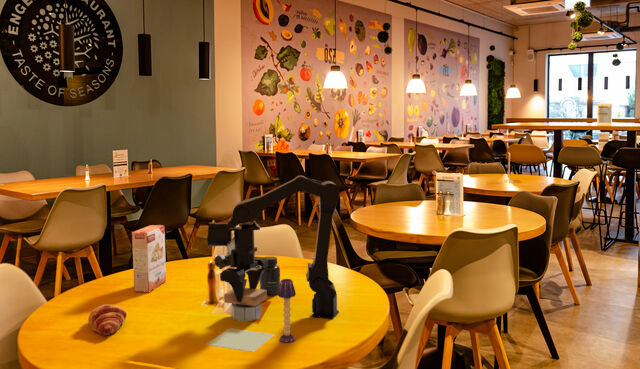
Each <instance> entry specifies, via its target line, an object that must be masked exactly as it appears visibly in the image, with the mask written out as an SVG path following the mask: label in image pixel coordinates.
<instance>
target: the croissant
mask: <svg viewBox="0 0 640 369" xmlns="http://www.w3.org/2000/svg"><path fill="white" fill-rule="evenodd" d="M127 315H128V314H127V312H126V310H124V308H122V307H121V306H119V305H114V304H104V303H103V304H100V305H97V306H96V307H95V308H94V309H93V310H91V311H90V313H89V315H88V325H89V326H90V328H91V330H92V329H93V330H94V332H96V333H98V334H100V335H102V336H108V335H110V333H111V334H113V333H114V332H115V333H116V332H118V331H117V330H119V329H121V328H122V326H123V325H124V324H123V323H125V320H126V318H127ZM120 327H121V328H120ZM93 330H92V331H93Z"/></svg>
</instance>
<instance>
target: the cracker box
mask: <svg viewBox="0 0 640 369" xmlns="http://www.w3.org/2000/svg"><path fill="white" fill-rule="evenodd" d="M165 230H166V229H165V225H162V224H156V225H155V224H152V225H151V224H150V225H148V226H145V227H143V228H140V229H136V230H135V231H132V232H131V240H132V244H131V245H132V268H133V270H132V271H133V290H134V291H145V292H144V293H150V292H152V291H153V290H155V289H156V287H157V286H158V287H160V286H161V285H163V284H164V283H166V282H167V270H166V268H167V267H166V266H167V265H166V263H167V262H166V237H165V236H166V233H165ZM165 281H166V282H165ZM162 283H163V284H162ZM160 284H161V285H160ZM159 285H160V286H159ZM158 287H157V288H158ZM154 288H155V289H154ZM152 289H153V290H152ZM151 290H152V291H151ZM149 291H150V292H149Z"/></svg>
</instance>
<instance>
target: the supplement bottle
mask: <svg viewBox="0 0 640 369" xmlns="http://www.w3.org/2000/svg"><path fill="white" fill-rule="evenodd" d="M264 257H265V258H266V259H267V260H268V267H266V268H262V266H261V268H262V269H265V271H264V273H263V275H262V277H261V279H260V281H259V289H263V290H267V297H268V296H269V297H271V296H276V295H277V296H278V290H279V286H280V282H281V267H280V266H279V265H278V257H276V256H264Z"/></svg>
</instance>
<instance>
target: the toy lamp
mask: <svg viewBox="0 0 640 369" xmlns="http://www.w3.org/2000/svg"><path fill="white" fill-rule="evenodd" d="M296 294H297V293H296V290H295V285H294V281H293V279H290V278H283V279H280V286H279V290H278V294H277V297H279V298H280V299H281V298H282V299H283V306H284V307H283V317H284V318H283V323H284V324H283V334H282V335H281V336H280V337H279V339H278V340H279V342H280V343H282V344H291V343H294V342H295V341H296V338H295V336H294V335H293V334H291V298H294V297H295V296H296Z"/></svg>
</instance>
